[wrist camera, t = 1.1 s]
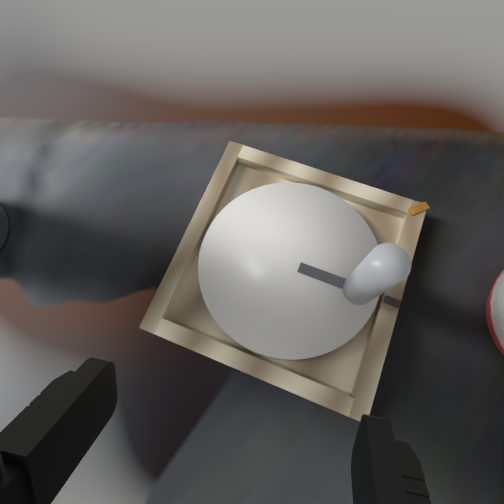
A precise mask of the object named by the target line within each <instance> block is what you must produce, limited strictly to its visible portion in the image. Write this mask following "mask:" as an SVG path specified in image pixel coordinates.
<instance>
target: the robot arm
mask: <svg viewBox="0 0 504 504" xmlns="http://www.w3.org/2000/svg"><path fill="white" fill-rule="evenodd" d="M8 228H9V222H8V217H7V214H6V212H5V210H4V209H3V208H2V207H1V205H0V250H1V248H2V246H3V245H4V243H5V241H6V238H7V235H8ZM116 404H117V386H116V374H115V365H114V363H113V362H109V361H105V360H100V359H95V358H89V359H87V360H86V361H85V362H84V363H83V364H82V365H81V366H80V367H79V368H78V369H77V371H75V372H74V371H68V372H67V373H65V374H63V375H61V376H60V377H58V378H56V379H55V380H53V381H52V382H51V383H50V384H49V385H48V386H47V387H46V388H45V389H44V390H43V391H42V392H41V394H40V395H38V396H37V397H36V398H35V399H34V400H33V401H32V402H31V403H30V405H29V406H27V407H26V408H25V409H24V410H23V411H22V412H21V413H20V414H19V415H18V416H17V417H16V418H15V419H14V420H13V421H12V422H11V423H10V424H9V425H8V426H7V427H6V428H5V429H4V430H2V431H1V432H0V504H51V503H52V501H53V500H54V498H55V497H56V495H57V494H58V493H59V491H60V490H61V488H62V487H63V486H64V484H65V483H66V481H67V480H68V478H69V477H70V475H71V474H72V472H73V471H74V470H75V468H76V467H77V465H78V464H79V463H80V461H81V460H82V458H83V457H84V455H85V454H86V453H87V451H88V450H89V448H90V447H91V445H92V444H93V443H94V441H95V440H96V438H97V437H98V435H99V434H100V433H101V431H102V430H103V428H104V427H105V425H106V424H107V422H108V421H109V420H110V418H111V416H112V415H113V413H114V410H115V407H116ZM351 479H352V492H353V504H431V500H429V493H428V489H427V486H426V484H425V478H424V475H423V471H422V467H421V464H420V460H419V459H418V457H417V456H416V455H415V453H414V452H413V450H412V449H411V447H410V446H409V444H408V443H406V442H401V441H396V440H395V439H394V435H393V430H392V425H391V422H390V420H389V419H385V418H380V417H375V416H370V415H366V414H363V415H362V417H361V420H360V424H359V428H358V432H357V436H356V439H355V443H354V447H353V451H352V459H351Z"/></svg>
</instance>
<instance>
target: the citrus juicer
mask: <svg viewBox="0 0 504 504" xmlns="http://www.w3.org/2000/svg"><path fill="white" fill-rule="evenodd" d="M486 321H487V325H488V329H489V332H490V335H491V337H492V339H493V341H494V343H495V345H496V346H497V348H498V349H499V351H500V352H501V354H502V355H503V356H504V269H503V271H502V272H501V273H500V275H499V276H498V277H497V279H496V281H495V282H494V284H493V286H492V289H491V291H490V293H489V296H488V299H487V305H486Z"/></svg>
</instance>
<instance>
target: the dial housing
mask: <svg viewBox="0 0 504 504" xmlns="http://www.w3.org/2000/svg"><path fill="white" fill-rule="evenodd" d="M283 182H291V183H302V184H309V185H312V186H316V187H319V188H322V189H324V190H327V191H329V192H331V193H333V194H335V195H337V196H339V197H340V198H342V199H343V200H344V201H346V202H347V203H349V204H350V205H351V206H352V207H353V208H354V209H355V210H356V211H357V212H358V213H359V214H360V215H361V216H362V218H363V219H364V220H365V221H366V223H367V224H368V226H369V227H370V229H371V231H372V233H373V235H374V237H375V239H376V241H377V244H378V245H379V244H382V243H393V244H396V245H399V246H400V247H402V248H403V249H404V250H405V251H406V252H407V253H408V255H409V257H410V259H411V263H412V260H413V256H414V253H415V249H416V245H417V242H418V238H419V235H420V231H421V227H422V224H423V220H424V217H425V213H426V210H427V209H429V206H428V205H427V203H426V202H423V203H420V202H417V201H414V200H411V199H408V198H405V197H401V196H398V195H395V194H392V193H389V192H386V191H383V190H380V189H377V188H374V187H371V186H368V185H365V184H361V183H358V182H355V181H352V180H349V179H346V178H343V177H340V176H337V175H334V174H331V173H328V172H324V171H321V170H318V169H315V168H312V167H309V166H306V165H303V164H300V163H297V162H294V161H291V160H287V159H284V158H281V157H278V156H275V155H272V154H269V153H266V152H263V151H260V150H257V149H254V148H251V147H247V146H244V145H241V144H238V143H235V142H232V141H230V142H229V144H228V146H227V148H226V150H225V152H224V154H223V156H222V158H221V160H220V162H219V164H218V166H217V168H216V170H215V173H214V175H213V177H212V179H211V181H210V183H209V185H208V187H207V189H206V191H205V193H204V195H203V197H202V199H201V201H200V203H199V205H198V207H197V209H196V212H195V214H194V216H193V218H192V220H191V222H190V224H189V226H188V228H187V230H186V232H185V234H184V236H183V238H182V240H181V242H180V244H179V246H178V248H177V251H176V253H175V255H174V257H173V259H172V261H171V263H170V265H169V267H168V269H167V271H166V273H165V275H164V277H163V279H162V281H161V283H160V285H159V287H158V290H157V292H156V294H155V296H154V298H153V300H152V302H151V304H150V306H149V308H148V310H147V312H146V314H145V317H144V318H143V321H142V323H141V325H140V327H139V328H141V329H143V330H146V331H148V332H150V333H153V334H155V335H157V336H160V337H162V338H164V339H167V340H169V341H171V342H174V343H176V344H179V345H181V346H183V347H186V348H188V349H191V350H193V351H195V352H197V353H200V354H202V355H204V356H207V357H209V358H211V359H214V360H216V361H219V362H221V363H223V364H226V365H228V366H230V367H233V368H235V369H237V370H240V371H242V372H244V373H247V374H249V375H251V376H254V377H256V378H258V379H261V380H263V381H265V382H268V383H270V384H273V385H275V386H277V387H280V388H282V389H284V390H287V391H289V392H291V393H294V394H296V395H298V396H301V397H303V398H305V399H308V400H310V401H313V402H315V403H317V404H320V405H322V406H324V407H327V408H329V409H331V410H334V411H336V412H338V413H341V414H343V415H345V416H348V417H350V418H352V419H355V420H357V421H360V420H361V417H362V415H363V414H366V415H370V411H371V408H372V404H373V400H374V397H375V393H376V390H377V386H378V382H379V379H380V375H381V372H382V368H383V364H384V361H385V357H386V354H387V350H388V346H389V343H390V339H391V336H392V332H393V328H394V325H395V321H396V318H397V314H398V310H399V307H400V303H401V299H402V296H403V292H404V289H405V285H406V281H407V278H408V276H407V277H406V278H405V279H404V280H402V281H401V282H399V283H398V284H396V285H395V286H393V287H392V288H390V289H389V290H387V291H386V292H384V293H382V294H381V295H379V299H378V301H377V304H376V307H375V309H374V311H373V313H372V314H371V316H370V318H369V320H368V321H367V322H366V324H365V325H364V326H363V328H362V329H361V330H360V331H359V332H358V333H357V334H356V335H355V336H354V337H353V338H351V339H350V340H349V341H347V342H346V343H345V344H343V345H342V346H340V347H338V348H336V349H334V350H333V351H331V352H328V353H325V354H322V355H320V356H316V357H311V358H307V359H298V360H284V359H276V358H271V357H267V356H264V355H261V354H258V353H255V352H253V351H251V350H249V349H247V348H245V347H243V346H242V345H240V344H239V343H237V342H236V341H234V340H233V339H232V338H231V337H230V336H229V335H228V334H227V333H225V332H224V331H223V329H222V328H221V327H220V326H219V325H218V324H217V322H216V321H215V320H214V318H213V317H212V315H211V313H210V312H209V310H208V308H207V306H206V304H205V302H204V299H203V296H202V293H201V289H200V284H199V278H198V261H199V253H200V249H201V245H202V242H203V239H204V237H205V234H206V232H207V230H208V228H209V227H210V225H211V223H212V222H213V220H214V219H215V218H216V216H217V215H218V214H219V213H220V212H221V211H222V209H223V208H224V207H225V206H227V205H228V204H229V203H230V202H231V201H233V200H234V199H235V198H237V197H239V196H240V195H242V194H244V193H246V192H248V191H250V190H252V189H255V188H258V187H261V186H264V185H268V184H273V183H283Z"/></svg>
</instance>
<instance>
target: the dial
mask: <svg viewBox="0 0 504 504" xmlns="http://www.w3.org/2000/svg"><path fill="white" fill-rule="evenodd" d="M410 271H411V259H410V257H409V255H408V253H407V252H406V251H405V250H404V249H403V248H402V247H400V246H399V245H396V244H393V243H382V244H379V245H378V244H377V241H376V239H375V237H374V235H373V233H372V231H371V229H370V227H369V226H368V224H367V223H366V221H365V220H364V219H363V218H362V216H361V215H360V214H359V213H358V212H357V211H356V210H355V209H354V208H353V207H352V206H351V205H350V204H349V203H347V202H346V201H344V200H343V199H342V198H340V197H339V196H337V195H335V194H333V193H331V192H329V191H327V190H324V189H322V188H319V187H316V186H312V185H309V184H302V183H291V182H283V183H273V184H268V185H264V186H261V187H258V188H255V189H252V190H250V191H248V192H246V193H244V194H242V195H240V196H239V197H237V198H235V199H234V200H233V201H231V202H230V203H229V204H228V205H227V206H225V207H224V208H223V209H222V211H221V212H220V213H219V214H218V215H217V216H216V218H215V219H214V220H213V222H212V223H211V225H210V227H209V228H208V230H207V232H206V234H205V237H204V239H203V242H202V245H201V249H200V253H199V261H198V278H199V284H200V289H201V293H202V296H203V299H204V302H205V304H206V306H207V308H208V310H209V312H210V313H211V315H212V317H213V318H214V320H215V321H216V322H217V324H218V325H219V326H220V327H221V328H222V329H223V331H224V332H225V333H227V334H228V335H229V336H230V337H231V338H232V339H233V340H234V341H236V342H237V343H239V344H240V345H242V346H243V347H245V348H247V349H249V350H251V351H253V352H255V353H258V354H261V355H264V356H267V357H271V358H276V359H284V360H298V359H307V358H311V357H316V356H320V355H322V354H325V353H328V352H331V351H333V350H334V349H336V348H338V347H340V346H342V345H343V344H345V343H346V342H347V341H349V340H350V339H351V338H353V337H354V336H355V335H356V334H357V333H358V332H359V331H360V330H361V329H362V328H363V326H364V325H365V324H366V322H367V321H368V320H369V318H370V316H371V314H372V313H373V311H374V309H375V307H376V304H377V301H378V299H379V295H381V294H382V293H384V292H386V291H387V290H389V289H390V288H392V287H393V286H395V285H396V284H398V283H399V282H401V281H402V280H404V279H405V278H406V277H407V276H408V275H409V273H410Z"/></svg>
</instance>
